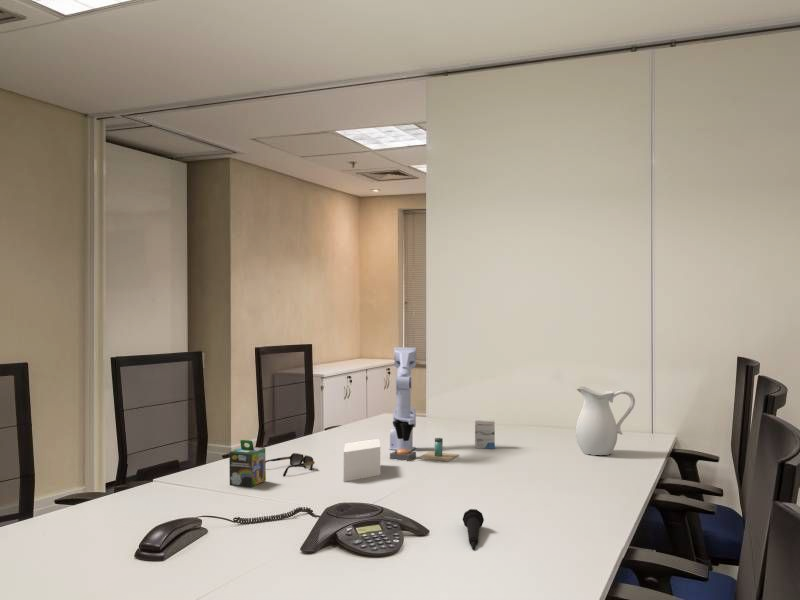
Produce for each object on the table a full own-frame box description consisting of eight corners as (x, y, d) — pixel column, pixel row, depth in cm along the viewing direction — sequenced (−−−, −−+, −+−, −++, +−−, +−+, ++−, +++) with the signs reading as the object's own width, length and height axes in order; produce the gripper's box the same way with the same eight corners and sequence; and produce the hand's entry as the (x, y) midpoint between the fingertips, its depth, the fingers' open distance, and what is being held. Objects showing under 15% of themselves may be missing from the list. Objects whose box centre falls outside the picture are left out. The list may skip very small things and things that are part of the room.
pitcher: (573, 455, 281) (573, 388, 282) (578, 448, 297) (578, 385, 298) (633, 460, 272) (633, 391, 273) (635, 453, 288) (635, 387, 289)
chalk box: (266, 481, 233) (266, 438, 233) (252, 487, 224) (252, 442, 224) (243, 479, 236) (243, 436, 236) (228, 485, 227) (228, 441, 227)
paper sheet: (417, 458, 273) (417, 457, 273) (429, 452, 285) (429, 451, 285) (448, 461, 267) (448, 460, 267) (458, 455, 279) (458, 454, 279)
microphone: (480, 563, 166) (479, 527, 186) (487, 542, 166) (486, 508, 185) (459, 555, 167) (460, 521, 186) (466, 534, 166) (467, 502, 186)
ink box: (494, 446, 299) (494, 420, 299) (494, 448, 294) (494, 421, 294) (474, 446, 300) (475, 419, 300) (475, 448, 295) (475, 421, 295)
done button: (394, 455, 272) (394, 450, 272) (399, 453, 276) (399, 448, 276) (406, 456, 269) (406, 451, 270) (411, 454, 274) (411, 449, 274)
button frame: (389, 459, 271) (389, 453, 271) (398, 455, 278) (398, 450, 278) (408, 460, 267) (408, 455, 268) (415, 457, 275) (415, 451, 275)
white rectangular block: (396, 467, 257) (396, 440, 257) (362, 484, 230) (362, 454, 231) (362, 463, 263) (362, 437, 263) (325, 479, 236) (325, 450, 236)
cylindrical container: (433, 456, 275) (433, 438, 276) (436, 454, 278) (436, 437, 278) (440, 456, 274) (441, 439, 274) (443, 455, 277) (443, 438, 277)
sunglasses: (260, 471, 249) (260, 457, 250) (293, 464, 260) (293, 451, 261) (283, 477, 240) (283, 463, 240) (316, 470, 251) (316, 457, 251)
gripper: (420, 407, 269) (420, 442, 268) (403, 403, 282) (403, 436, 281) (405, 408, 265) (405, 443, 265) (388, 404, 278) (388, 437, 278)
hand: (403, 439), depth 273 cm, fingers open, 4 cm apart
